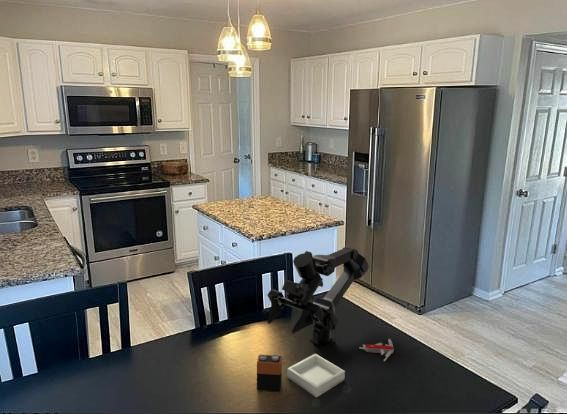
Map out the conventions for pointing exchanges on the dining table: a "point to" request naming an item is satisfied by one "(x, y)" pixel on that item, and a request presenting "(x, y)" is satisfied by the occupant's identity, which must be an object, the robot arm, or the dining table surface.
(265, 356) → the battery
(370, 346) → the swiss army knife
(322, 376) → the parts tray
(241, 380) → the dining table surface
